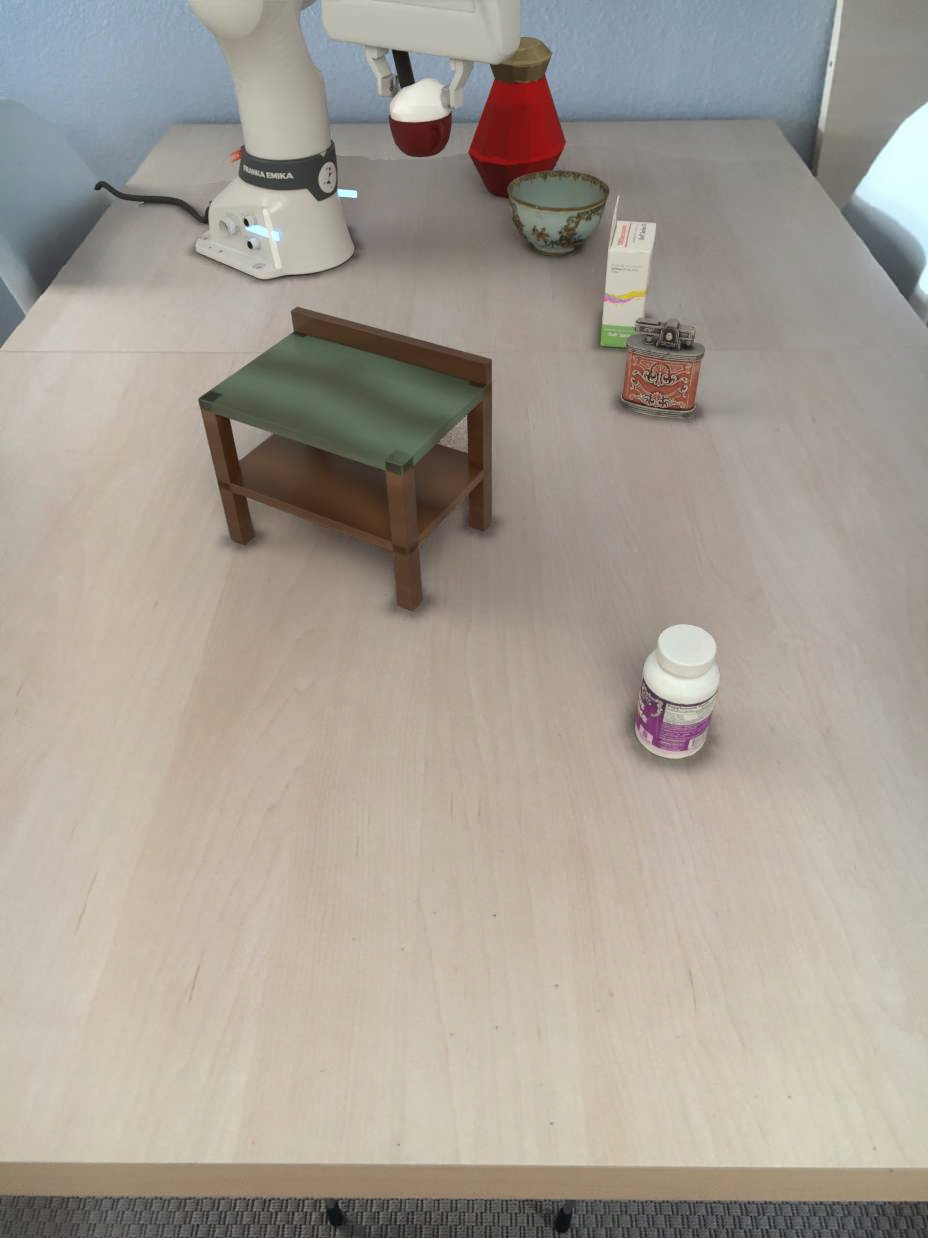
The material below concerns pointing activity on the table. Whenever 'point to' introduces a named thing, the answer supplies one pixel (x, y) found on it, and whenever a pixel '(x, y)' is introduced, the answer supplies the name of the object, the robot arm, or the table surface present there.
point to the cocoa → (418, 112)
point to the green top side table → (356, 436)
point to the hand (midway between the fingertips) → (420, 101)
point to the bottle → (518, 121)
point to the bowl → (557, 209)
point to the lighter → (662, 369)
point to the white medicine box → (626, 279)
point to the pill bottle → (678, 692)
